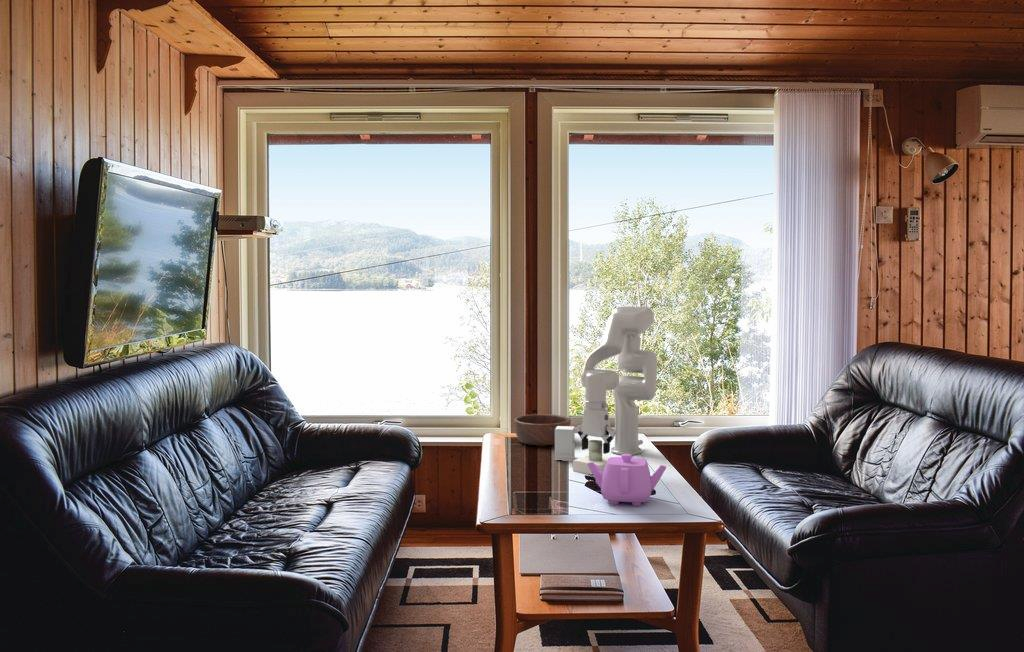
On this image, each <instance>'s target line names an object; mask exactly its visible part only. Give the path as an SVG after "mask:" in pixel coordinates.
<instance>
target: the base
mask: <svg viewBox="0 0 1024 652" xmlns="http://www.w3.org/2000/svg"><path fill="white" fill-rule="evenodd" d="M609 458H610V457H606V456H602V461H590V460H589V455H586V456H583V457H579V458H575V459H573V461H572V471H573V472H576V473H582V474H587V475H591V474H592V472H591V470H590V468H589V467H588V463H590V462H594V464H595V465H596V466H597V467H598V468H599V470H600V471H601V472H602V473H603V472H604V468H605V465H606V462H607V460H608V459H609Z"/></svg>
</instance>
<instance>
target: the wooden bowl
mask: <svg viewBox="0 0 1024 652" xmlns="http://www.w3.org/2000/svg"><path fill="white" fill-rule="evenodd" d="M513 421H514V422H513V424H514V431H515V435H516V438H517V439H518V441H519V442H520V443H521V444H523V443H524V444H523V445H526V444H528V445H527V446H531V445H536V446H535V447H547V446H546V445H554V446H555V429H556V427H557V426H571V422H572V420H571V419H570V418H569V417H567V416H566V415H565V416H564V415H559V414H548V413H544V414H543V413H539V414H537V413H536V414H526V415H525V414H524V415H520V416H516V417H515V418H514V419H513ZM537 445H538V446H537Z"/></svg>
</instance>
